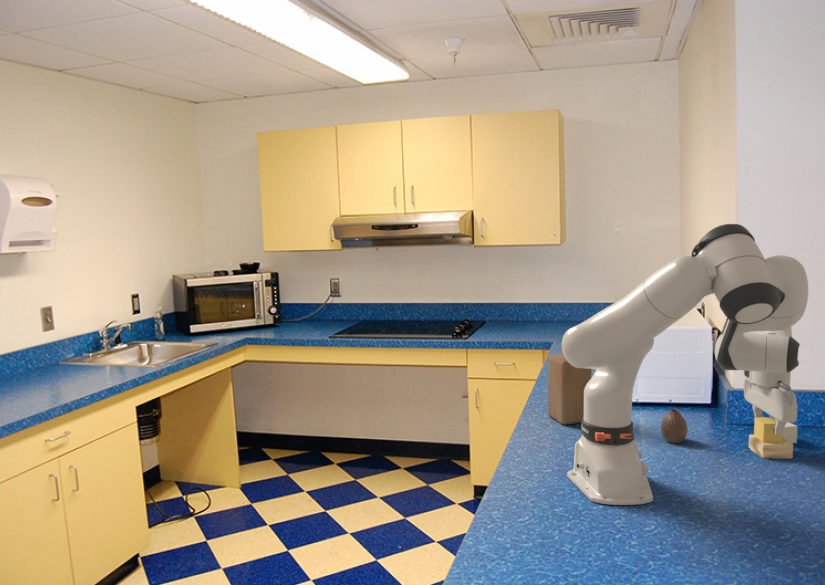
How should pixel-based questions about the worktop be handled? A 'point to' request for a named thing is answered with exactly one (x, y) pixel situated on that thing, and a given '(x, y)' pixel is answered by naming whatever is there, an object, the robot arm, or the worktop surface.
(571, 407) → the block
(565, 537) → the worktop surface
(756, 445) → the maple base
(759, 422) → the ochre cube
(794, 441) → the grey cube
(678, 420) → the vase
